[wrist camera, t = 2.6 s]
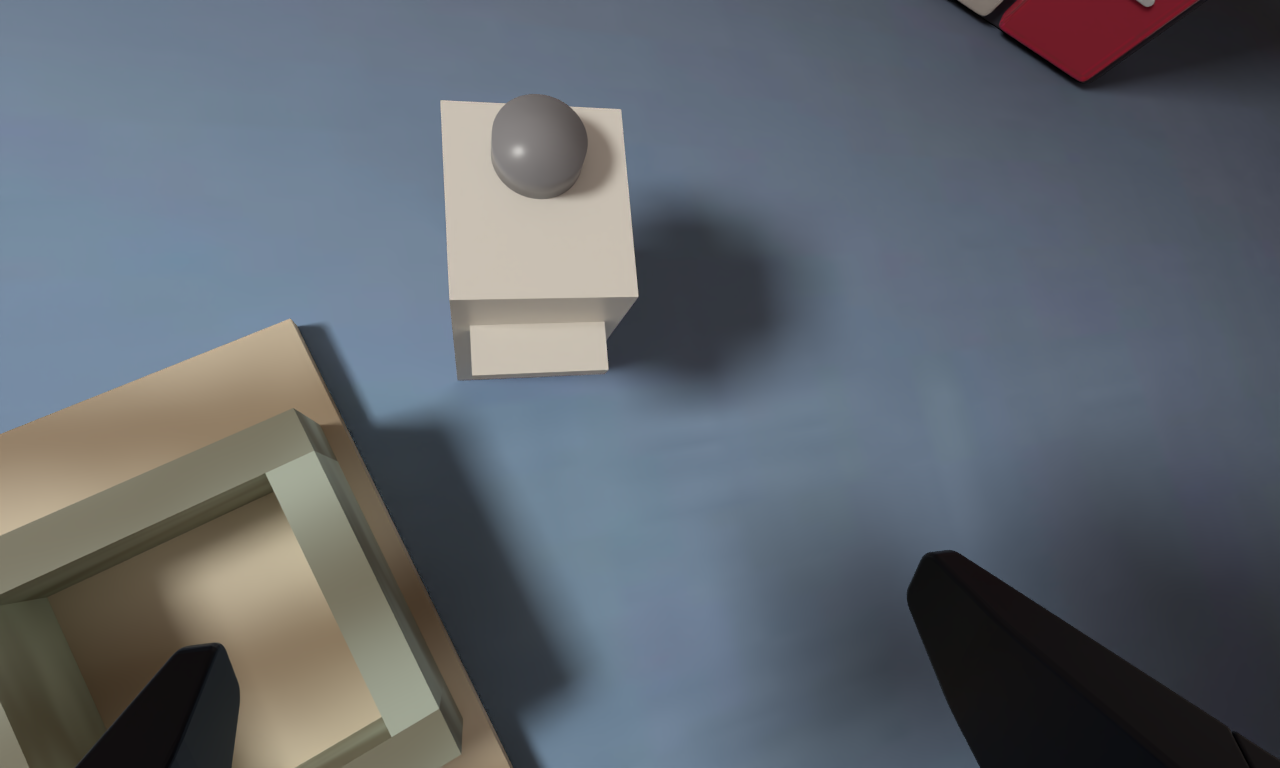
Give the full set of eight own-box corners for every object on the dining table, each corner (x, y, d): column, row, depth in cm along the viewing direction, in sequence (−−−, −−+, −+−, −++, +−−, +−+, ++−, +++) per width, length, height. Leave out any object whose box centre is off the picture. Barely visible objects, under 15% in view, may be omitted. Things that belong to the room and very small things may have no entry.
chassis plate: (530, 803, 21) (544, 867, 17) (-103, 1225, 16) (-283, 1444, 12) (296, 325, 22) (259, 283, 18) (-361, 590, 17) (-604, 610, 13)
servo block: (583, 410, 23) (652, 341, 14) (459, 417, 22) (450, 347, 13) (568, 215, 24) (623, 39, 16) (449, 214, 23) (436, 25, 15)
